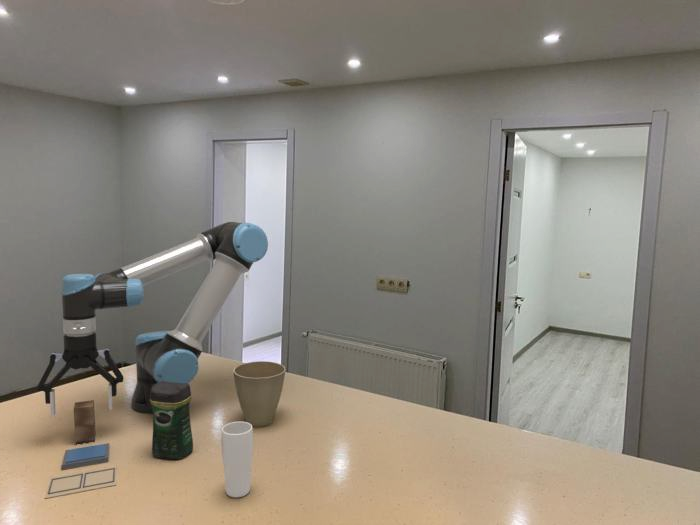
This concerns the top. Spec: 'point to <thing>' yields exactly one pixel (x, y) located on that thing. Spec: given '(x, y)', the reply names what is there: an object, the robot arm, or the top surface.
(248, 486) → the drinking glass
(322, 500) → the top surface
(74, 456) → the ink pad
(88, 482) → the sheet
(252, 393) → the plant pot
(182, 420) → the coffee jar
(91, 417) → the tall wooden block
